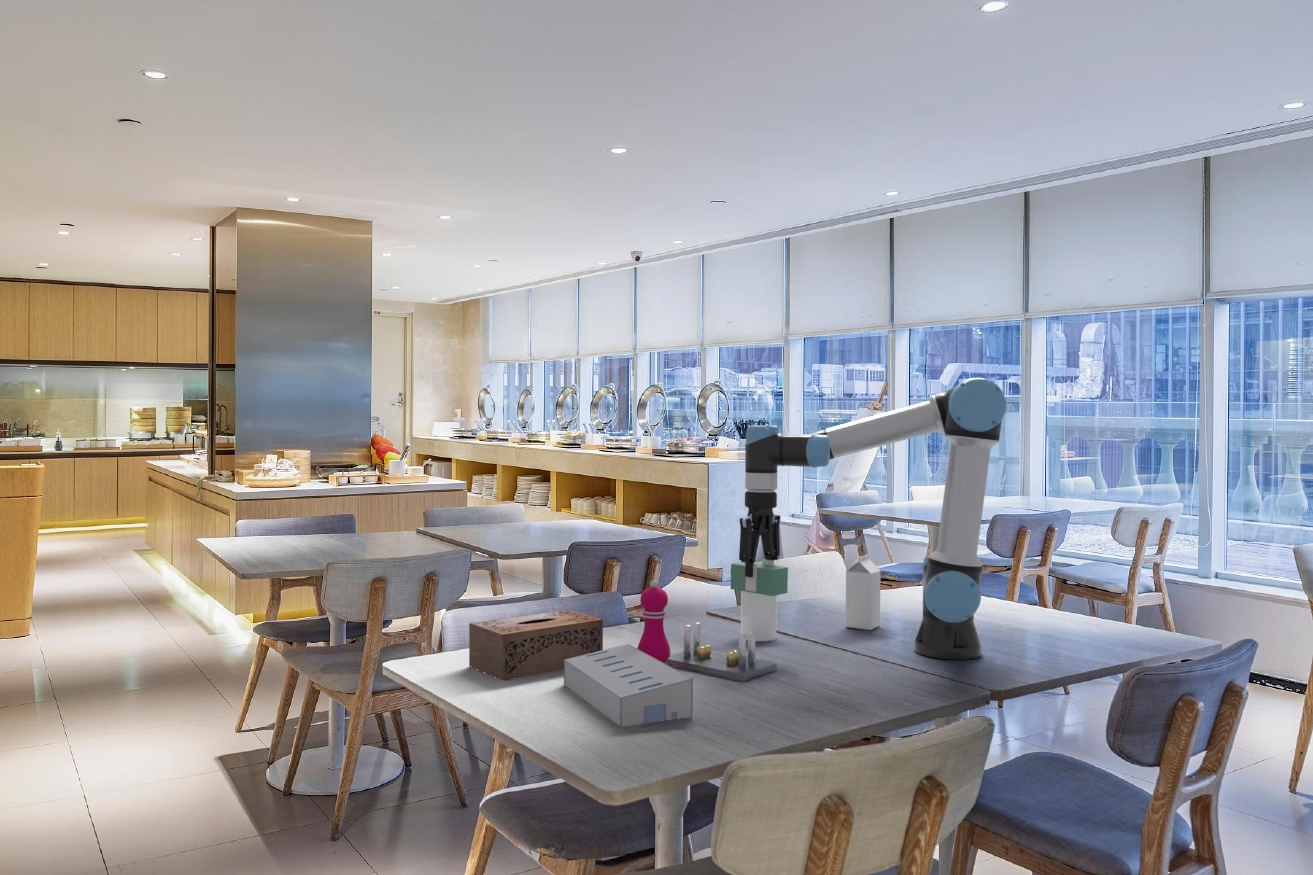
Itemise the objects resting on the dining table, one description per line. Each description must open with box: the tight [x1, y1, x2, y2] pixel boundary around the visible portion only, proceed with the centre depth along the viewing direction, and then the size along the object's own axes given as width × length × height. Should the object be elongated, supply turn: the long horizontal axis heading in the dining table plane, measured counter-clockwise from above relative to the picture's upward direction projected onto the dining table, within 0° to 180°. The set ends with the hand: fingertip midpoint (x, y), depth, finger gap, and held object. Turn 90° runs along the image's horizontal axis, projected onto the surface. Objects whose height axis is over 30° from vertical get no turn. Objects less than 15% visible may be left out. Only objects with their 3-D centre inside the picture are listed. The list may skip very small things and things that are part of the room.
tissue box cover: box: [468, 609, 604, 681], centre depth 215 cm, size 26×14×10 cm, turn 129°
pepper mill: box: [637, 579, 671, 665], centre depth 209 cm, size 7×7×20 cm
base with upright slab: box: [740, 591, 778, 642], centre depth 244 cm, size 9×9×12 cm
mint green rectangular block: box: [730, 561, 789, 596], centre depth 227 cm, size 12×6×6 cm, turn 49°
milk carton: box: [845, 553, 881, 631], centre depth 258 cm, size 7×7×19 cm
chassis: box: [665, 621, 778, 683], centre depth 214 cm, size 22×13×8 cm, turn 50°
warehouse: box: [563, 643, 694, 728], centre depth 188 cm, size 30×14×8 cm, turn 25°
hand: (759, 588), depth 227 cm, fingers closed on mint green rectangular block, 6 cm apart
